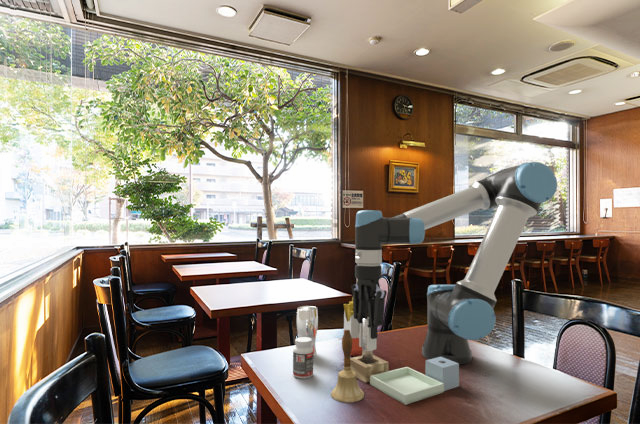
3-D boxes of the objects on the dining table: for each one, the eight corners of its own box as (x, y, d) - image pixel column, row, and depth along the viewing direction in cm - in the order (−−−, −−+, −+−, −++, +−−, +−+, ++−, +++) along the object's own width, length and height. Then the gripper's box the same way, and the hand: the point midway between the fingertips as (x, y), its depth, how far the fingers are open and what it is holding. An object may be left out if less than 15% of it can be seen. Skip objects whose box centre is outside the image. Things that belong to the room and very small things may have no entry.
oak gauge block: (370, 367, 112) (370, 353, 112) (388, 376, 105) (388, 362, 105) (348, 372, 108) (348, 358, 108) (365, 382, 101) (365, 367, 101)
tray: (406, 374, 107) (406, 366, 107) (444, 392, 96) (443, 383, 96) (370, 384, 100) (370, 375, 100) (405, 404, 89) (405, 395, 89)
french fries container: (350, 358, 119) (350, 301, 120) (342, 347, 130) (342, 295, 130) (364, 358, 120) (364, 301, 120) (355, 347, 131) (355, 294, 131)
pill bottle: (310, 380, 103) (310, 343, 103) (290, 378, 104) (290, 341, 104) (315, 372, 108) (315, 337, 109) (295, 370, 110) (296, 335, 110)
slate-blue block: (441, 378, 105) (441, 356, 105) (459, 386, 99) (458, 363, 100) (425, 383, 102) (425, 360, 102) (443, 391, 96) (443, 367, 97)
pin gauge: (368, 362, 109) (368, 316, 109) (375, 365, 106) (375, 318, 107) (360, 364, 107) (360, 317, 108) (366, 367, 105) (367, 320, 105)
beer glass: (291, 354, 123) (292, 308, 123) (307, 349, 128) (307, 304, 128) (307, 360, 118) (307, 311, 118) (322, 354, 123) (322, 308, 123)
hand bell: (324, 396, 93) (324, 330, 94) (344, 385, 100) (344, 324, 100) (351, 406, 88) (351, 337, 89) (370, 394, 94) (370, 329, 95)
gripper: (341, 262, 113) (340, 342, 112) (376, 268, 99) (375, 358, 98) (361, 261, 116) (361, 338, 116) (397, 266, 103) (397, 354, 102)
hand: (367, 347), depth 107 cm, fingers closed on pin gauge, 3 cm apart
